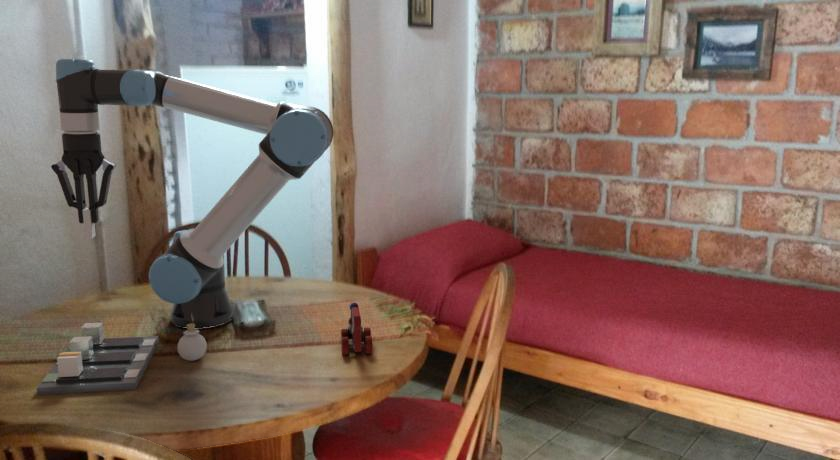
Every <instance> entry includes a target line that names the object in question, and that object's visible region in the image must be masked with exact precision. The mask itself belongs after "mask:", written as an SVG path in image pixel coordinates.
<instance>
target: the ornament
mask: <svg viewBox="0 0 840 460" xmlns="http://www.w3.org/2000/svg"><path fill="white" fill-rule="evenodd" d="M191 317H192V313H191ZM193 319H194V318H193ZM192 321H193V320H192ZM187 328H188V329H185V330H184V331H183V333H182V334H183V335H182V336H181V338H180V339H179V340H178V343H177V352H178V354H179V356H180V357H181V358H182V359H184V360H186V361H189V362H192V361H196V360H199V359H201V358H202V357H203V356H204V355H205V354H206V352H207V346H208V345H207V341H206V339H205V337H204V336H203V335H201V334H200V329H194V328H195V324H193V323H191V324H187Z"/></svg>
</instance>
